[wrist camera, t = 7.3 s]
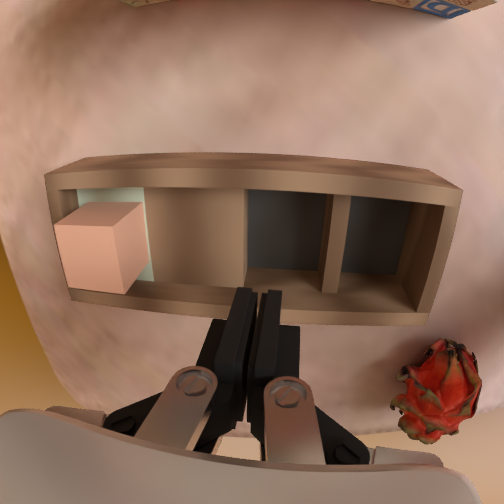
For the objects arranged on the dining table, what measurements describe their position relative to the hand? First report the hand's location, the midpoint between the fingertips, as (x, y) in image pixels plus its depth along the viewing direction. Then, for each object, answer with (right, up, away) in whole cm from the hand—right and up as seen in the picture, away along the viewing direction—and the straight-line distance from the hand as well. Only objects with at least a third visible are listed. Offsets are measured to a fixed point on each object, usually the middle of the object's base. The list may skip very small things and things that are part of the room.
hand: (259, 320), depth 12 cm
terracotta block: (-9, +4, +8) cm, 12 cm away
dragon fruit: (+17, -8, +15) cm, 24 cm away
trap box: (0, +5, +10) cm, 11 cm away
